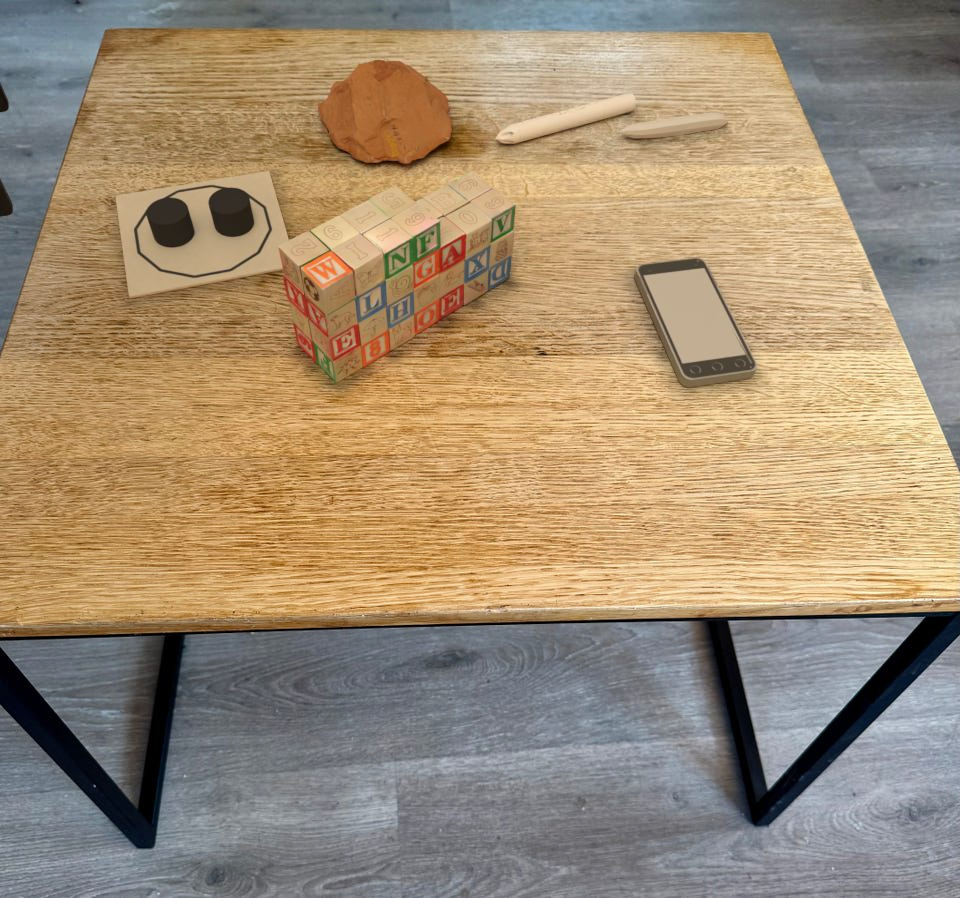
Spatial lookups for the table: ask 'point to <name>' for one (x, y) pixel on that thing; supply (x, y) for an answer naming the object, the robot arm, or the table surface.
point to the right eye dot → (231, 212)
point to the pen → (675, 126)
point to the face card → (200, 238)
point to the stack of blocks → (394, 269)
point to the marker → (567, 119)
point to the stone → (386, 113)
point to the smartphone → (694, 322)
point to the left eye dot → (170, 222)
